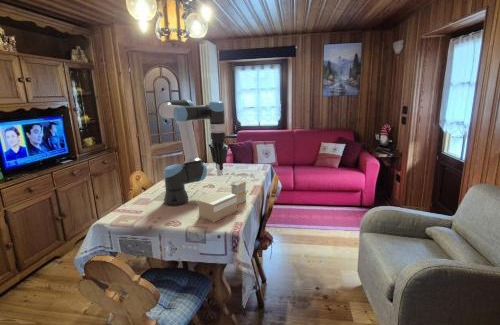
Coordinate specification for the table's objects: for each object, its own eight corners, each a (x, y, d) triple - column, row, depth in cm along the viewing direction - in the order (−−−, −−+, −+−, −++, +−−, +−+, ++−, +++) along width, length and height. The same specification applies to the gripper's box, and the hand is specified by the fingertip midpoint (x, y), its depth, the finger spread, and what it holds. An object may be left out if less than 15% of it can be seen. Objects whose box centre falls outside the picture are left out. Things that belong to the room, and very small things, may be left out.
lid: (198, 201, 154) (198, 200, 154) (221, 192, 168) (221, 191, 168) (213, 206, 147) (213, 204, 147) (236, 196, 160) (236, 194, 160)
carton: (199, 217, 156) (198, 201, 154) (222, 206, 170) (221, 192, 168) (214, 222, 149) (213, 206, 147) (237, 211, 162) (236, 196, 160)
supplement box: (240, 199, 180) (239, 180, 177) (246, 201, 177) (245, 181, 174) (231, 203, 174) (230, 183, 171) (237, 205, 171) (236, 184, 168)
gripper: (203, 131, 148) (206, 175, 153) (221, 133, 140) (223, 179, 145) (214, 130, 153) (216, 171, 159) (231, 131, 145) (233, 175, 151)
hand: (220, 175), depth 152 cm, fingers closed
